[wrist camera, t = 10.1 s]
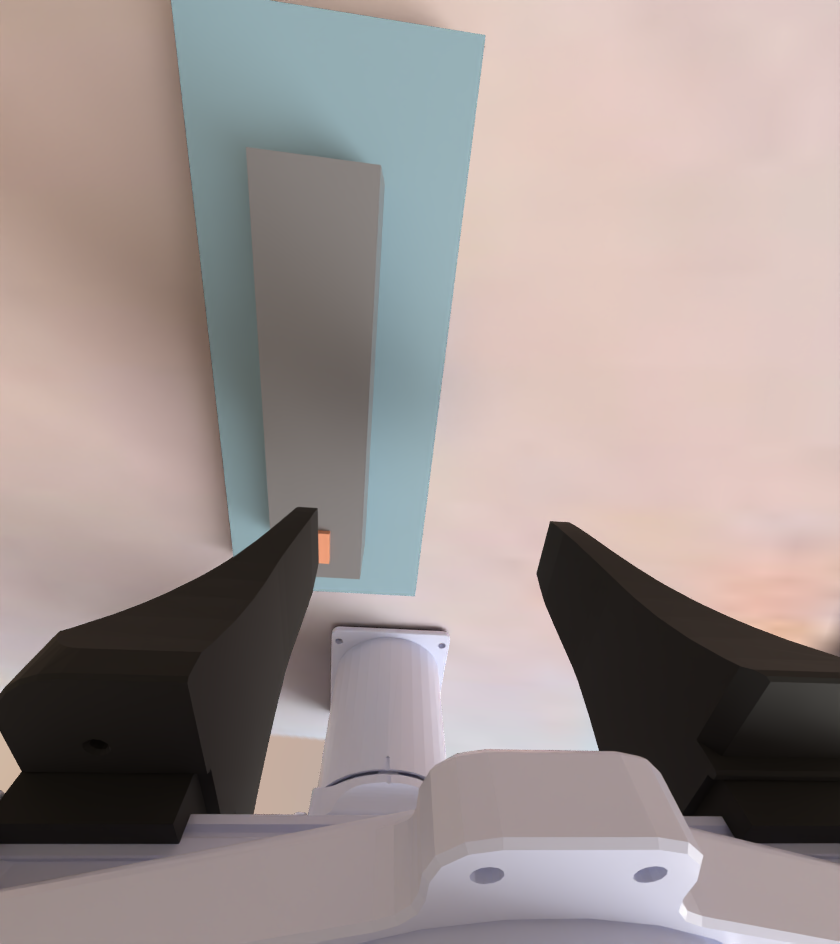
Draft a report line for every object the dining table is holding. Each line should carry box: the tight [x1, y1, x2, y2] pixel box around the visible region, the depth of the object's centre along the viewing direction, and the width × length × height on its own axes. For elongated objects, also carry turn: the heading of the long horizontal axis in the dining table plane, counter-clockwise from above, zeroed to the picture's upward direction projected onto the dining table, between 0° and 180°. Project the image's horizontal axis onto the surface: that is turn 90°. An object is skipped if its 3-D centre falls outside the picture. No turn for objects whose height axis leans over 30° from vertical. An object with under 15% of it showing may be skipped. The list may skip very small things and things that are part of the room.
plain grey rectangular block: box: [246, 147, 385, 579], centre depth 18 cm, size 16×4×5 cm, turn 174°
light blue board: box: [171, 0, 485, 596], centre depth 19 cm, size 24×10×2 cm, turn 174°
